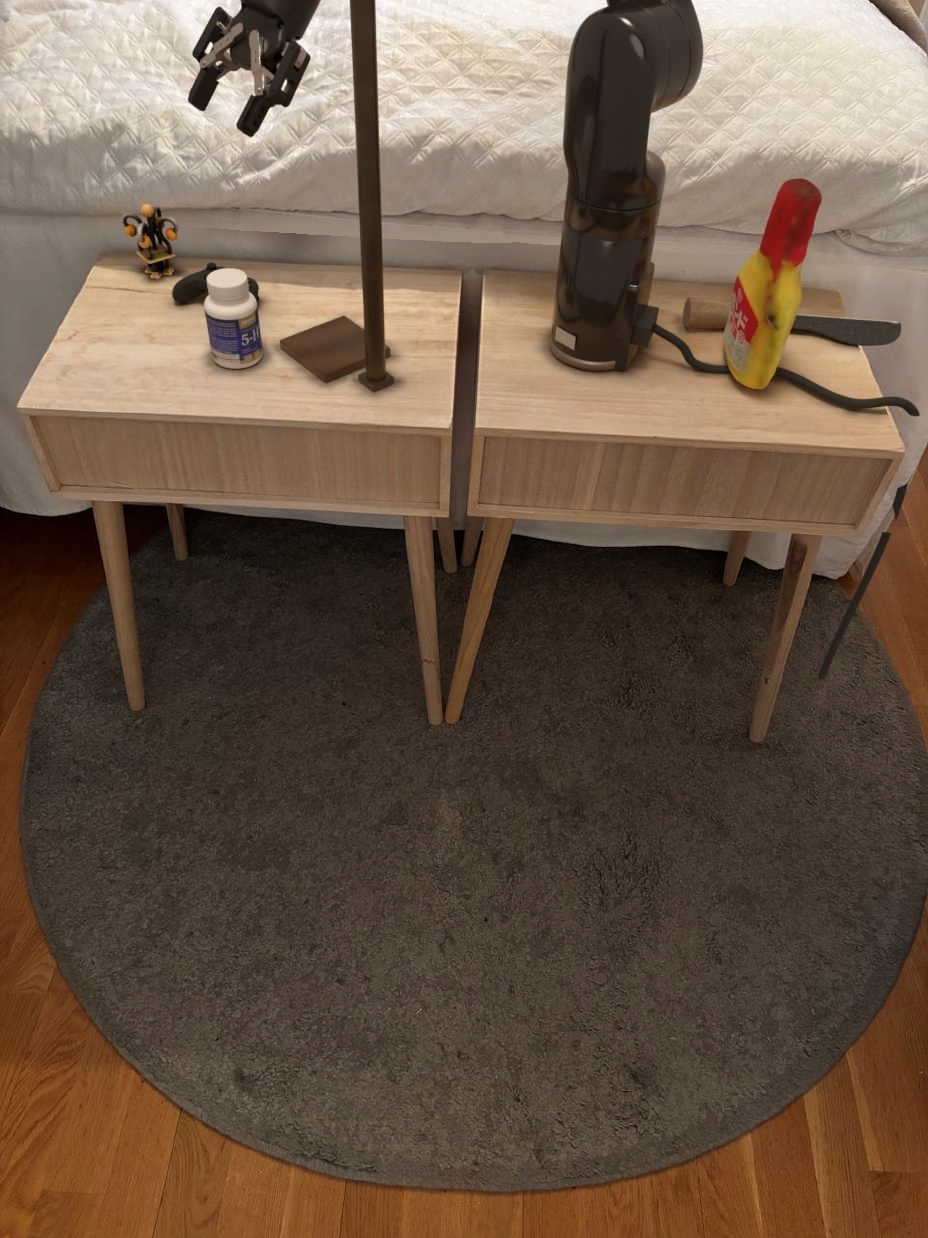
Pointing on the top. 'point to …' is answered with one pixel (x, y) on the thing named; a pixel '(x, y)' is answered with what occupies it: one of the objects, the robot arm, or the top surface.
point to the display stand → (341, 339)
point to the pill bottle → (232, 319)
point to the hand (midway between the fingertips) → (219, 119)
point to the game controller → (202, 285)
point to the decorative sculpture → (153, 239)
